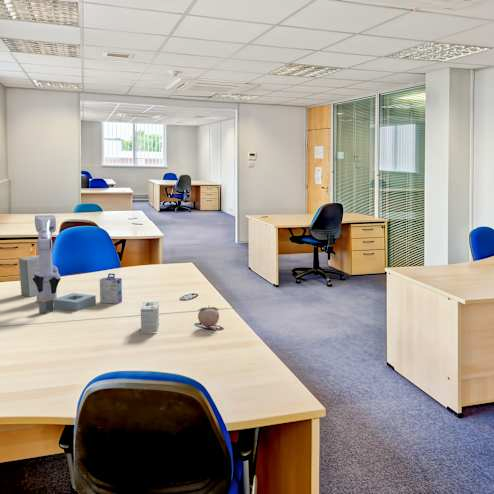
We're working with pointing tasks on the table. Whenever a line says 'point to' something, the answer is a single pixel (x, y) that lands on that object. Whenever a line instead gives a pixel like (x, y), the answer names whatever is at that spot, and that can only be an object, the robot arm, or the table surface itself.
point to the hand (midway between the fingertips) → (47, 292)
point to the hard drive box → (28, 275)
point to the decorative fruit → (208, 316)
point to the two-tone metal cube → (46, 305)
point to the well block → (74, 301)
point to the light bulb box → (149, 317)
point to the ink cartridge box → (111, 289)
